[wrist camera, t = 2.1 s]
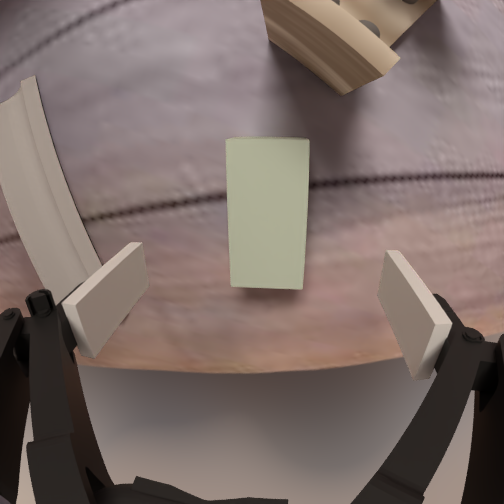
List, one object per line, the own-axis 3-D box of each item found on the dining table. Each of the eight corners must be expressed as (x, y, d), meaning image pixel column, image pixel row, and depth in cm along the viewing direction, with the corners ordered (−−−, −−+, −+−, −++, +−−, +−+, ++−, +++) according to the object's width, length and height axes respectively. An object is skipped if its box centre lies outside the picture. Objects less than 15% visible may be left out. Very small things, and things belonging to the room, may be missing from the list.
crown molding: (130, 309, 35) (117, 326, 32) (70, 321, 38) (57, 336, 34) (39, 76, 24) (18, 75, 21) (-11, 124, 27) (-29, 128, 23)
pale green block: (236, 136, 26) (225, 139, 21) (305, 137, 25) (309, 140, 20) (239, 261, 30) (230, 286, 26) (300, 263, 30) (302, 289, 25)
